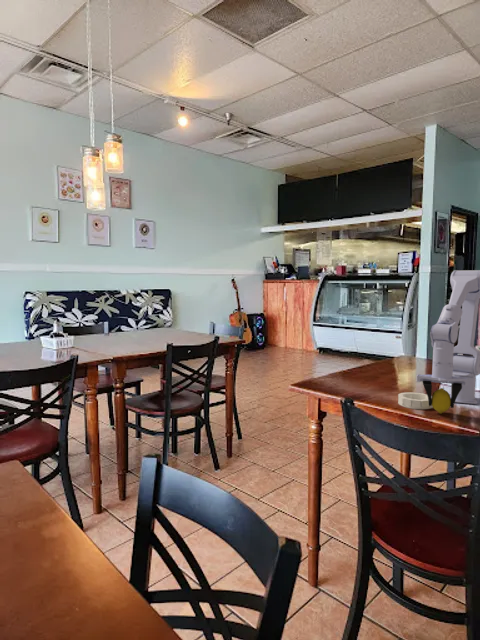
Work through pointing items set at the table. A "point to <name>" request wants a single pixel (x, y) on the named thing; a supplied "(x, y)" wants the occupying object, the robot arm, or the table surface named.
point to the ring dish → (414, 400)
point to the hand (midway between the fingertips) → (440, 406)
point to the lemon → (441, 400)
